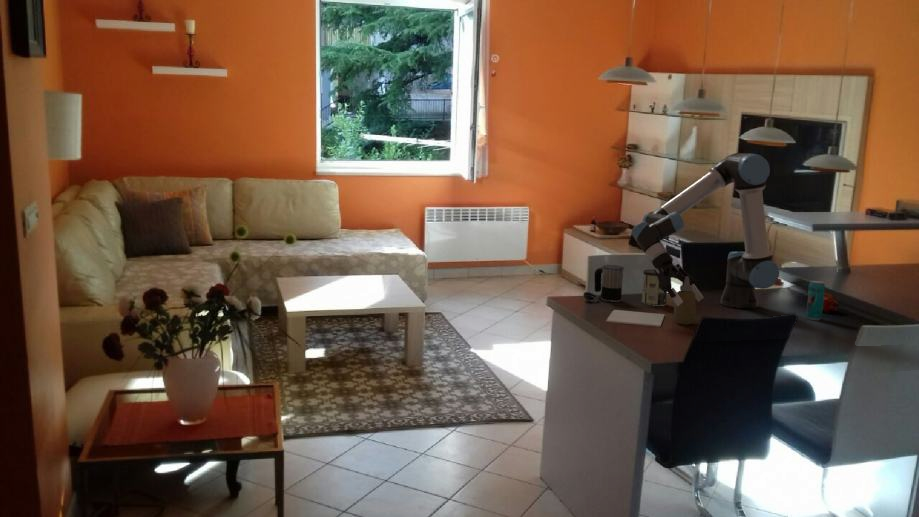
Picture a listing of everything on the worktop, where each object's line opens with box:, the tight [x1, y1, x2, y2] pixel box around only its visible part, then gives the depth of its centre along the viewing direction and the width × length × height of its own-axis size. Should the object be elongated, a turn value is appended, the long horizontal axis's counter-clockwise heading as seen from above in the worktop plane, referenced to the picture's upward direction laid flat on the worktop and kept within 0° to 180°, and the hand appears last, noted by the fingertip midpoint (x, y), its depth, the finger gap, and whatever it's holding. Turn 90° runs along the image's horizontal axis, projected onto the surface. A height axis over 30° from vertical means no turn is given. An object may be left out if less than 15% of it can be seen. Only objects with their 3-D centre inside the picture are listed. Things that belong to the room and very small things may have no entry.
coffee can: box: [641, 269, 668, 307], centre depth 340 cm, size 10×10×14 cm
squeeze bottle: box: [673, 276, 697, 326], centre depth 306 cm, size 8×8×18 cm
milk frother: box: [583, 264, 625, 301], centre depth 344 cm, size 14×16×15 cm
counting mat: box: [605, 309, 666, 328], centre depth 313 cm, size 20×20×1 cm
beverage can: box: [806, 280, 826, 321], centre depth 319 cm, size 6×6×15 cm
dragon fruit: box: [823, 291, 840, 313], centre depth 334 cm, size 8×8×12 cm
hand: (690, 301), depth 305 cm, fingers open, 13 cm apart
